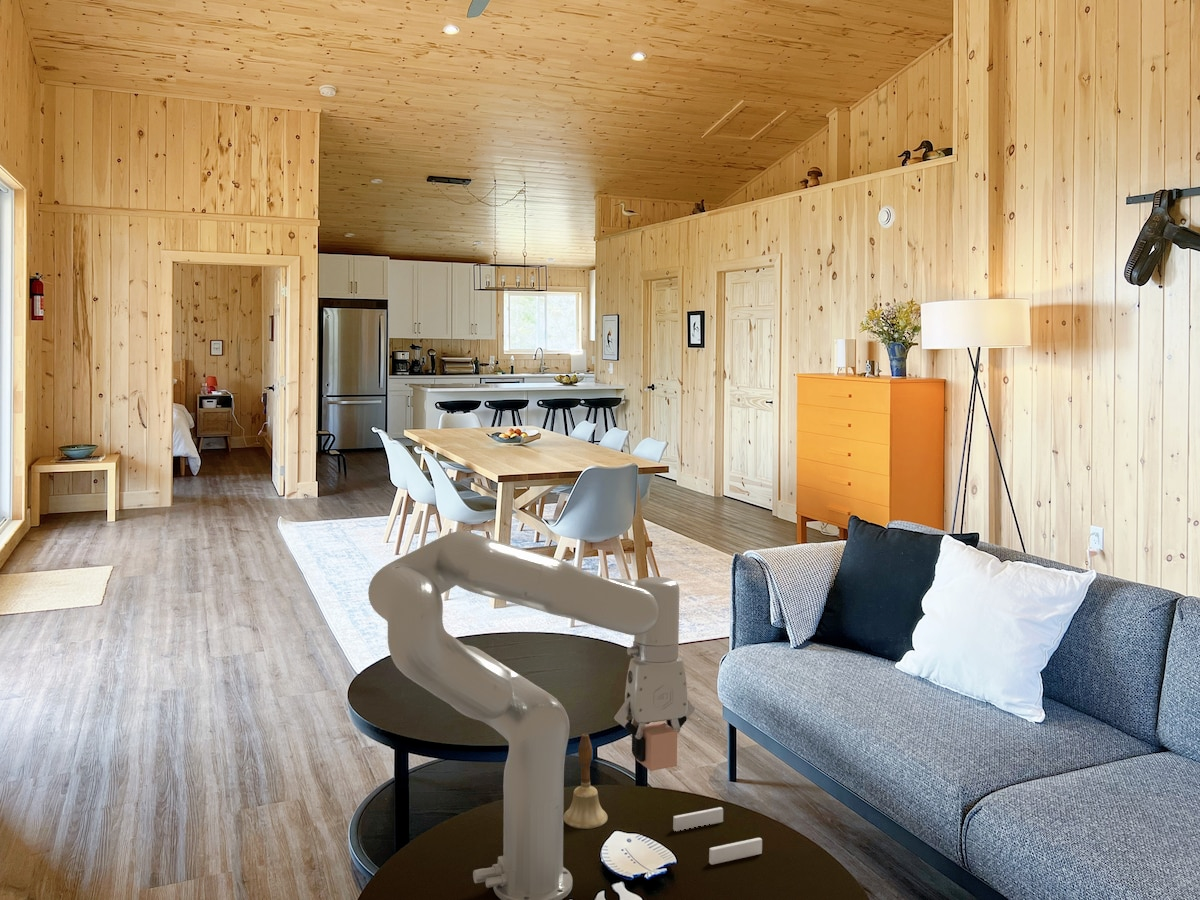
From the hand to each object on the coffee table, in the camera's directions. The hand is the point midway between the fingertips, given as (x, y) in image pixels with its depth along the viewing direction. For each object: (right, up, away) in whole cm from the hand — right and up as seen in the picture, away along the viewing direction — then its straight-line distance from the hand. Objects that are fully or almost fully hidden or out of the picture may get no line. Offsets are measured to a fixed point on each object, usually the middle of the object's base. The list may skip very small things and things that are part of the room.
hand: (654, 755), depth 156 cm
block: (0, -1, -1) cm, 1 cm away
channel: (+11, -17, +6) cm, 21 cm away
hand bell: (-12, -17, +14) cm, 25 cm away
